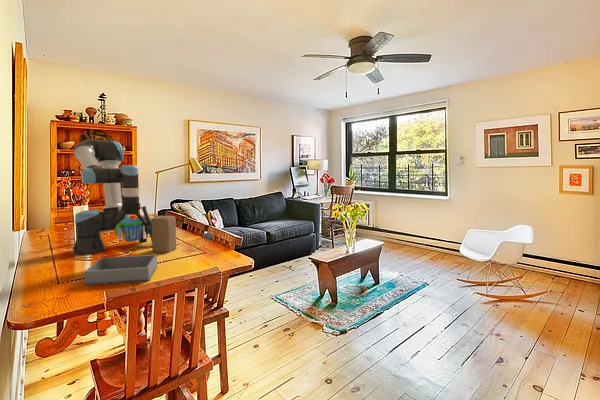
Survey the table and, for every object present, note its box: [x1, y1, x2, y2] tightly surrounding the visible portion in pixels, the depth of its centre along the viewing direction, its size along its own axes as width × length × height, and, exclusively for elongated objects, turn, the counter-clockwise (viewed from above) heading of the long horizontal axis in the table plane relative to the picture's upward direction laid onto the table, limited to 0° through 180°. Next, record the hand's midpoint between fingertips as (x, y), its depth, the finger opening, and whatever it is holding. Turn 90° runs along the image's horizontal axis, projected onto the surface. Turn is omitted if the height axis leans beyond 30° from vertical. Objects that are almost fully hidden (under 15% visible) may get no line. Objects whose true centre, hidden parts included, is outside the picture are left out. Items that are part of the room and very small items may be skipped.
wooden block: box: [150, 215, 177, 254], centre depth 179 cm, size 10×10×20 cm
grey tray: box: [83, 254, 158, 287], centre depth 139 cm, size 24×20×6 cm
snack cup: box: [114, 218, 143, 242], centre depth 157 cm, size 16×10×10 cm
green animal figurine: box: [136, 214, 152, 243], centre depth 195 cm, size 20×6×20 cm, turn 55°
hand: (132, 238), depth 157 cm, fingers closed on snack cup, 11 cm apart
